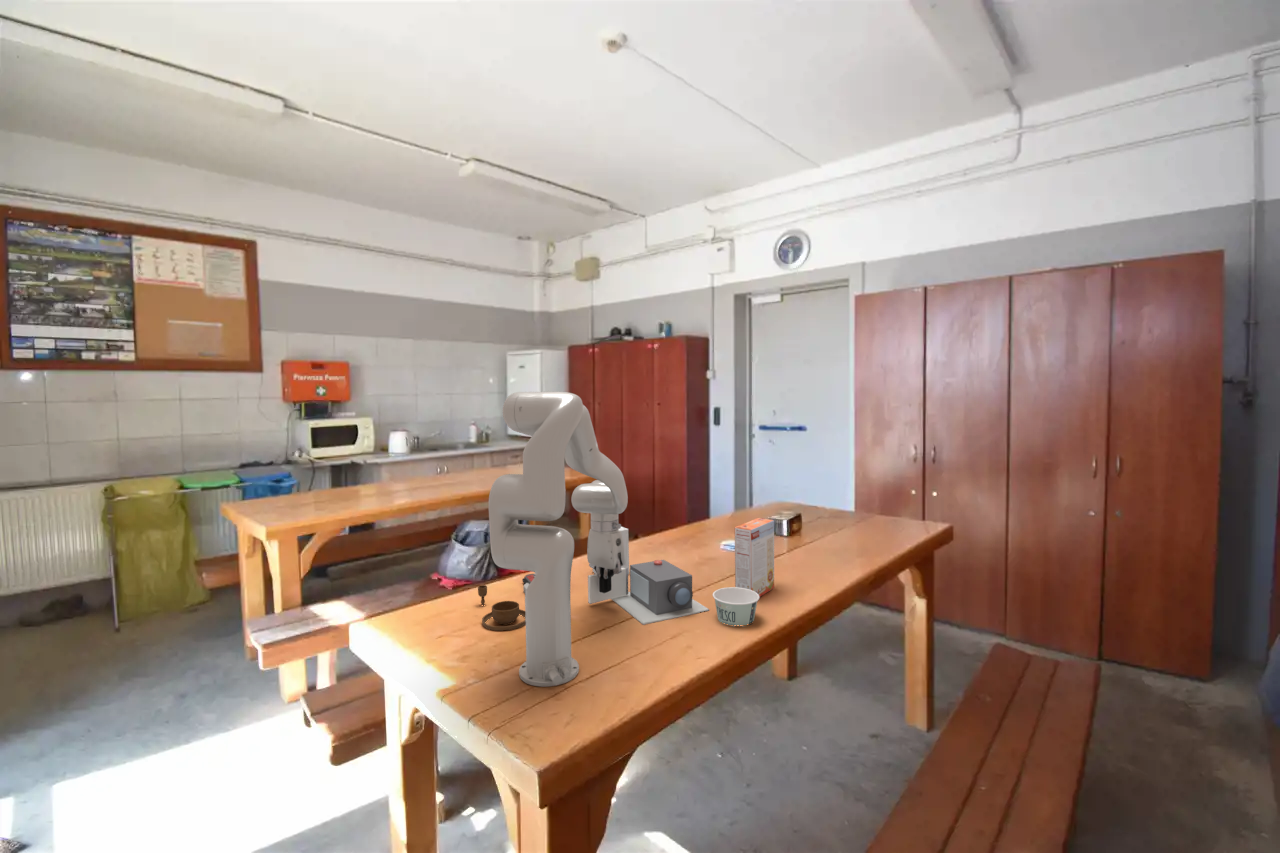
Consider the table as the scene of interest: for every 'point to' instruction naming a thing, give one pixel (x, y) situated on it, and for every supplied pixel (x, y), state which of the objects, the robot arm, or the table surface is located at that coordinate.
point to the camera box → (659, 593)
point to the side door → (617, 587)
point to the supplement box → (626, 547)
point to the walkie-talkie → (528, 580)
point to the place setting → (501, 612)
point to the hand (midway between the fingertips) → (605, 591)
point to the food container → (735, 605)
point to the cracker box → (755, 555)
